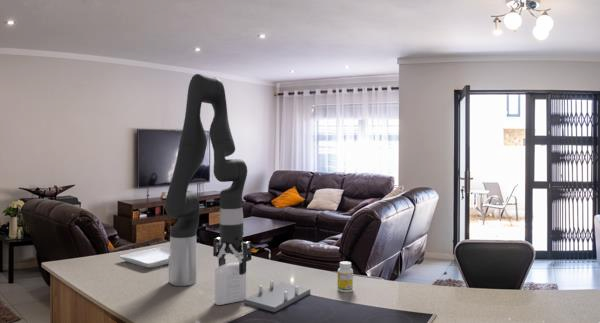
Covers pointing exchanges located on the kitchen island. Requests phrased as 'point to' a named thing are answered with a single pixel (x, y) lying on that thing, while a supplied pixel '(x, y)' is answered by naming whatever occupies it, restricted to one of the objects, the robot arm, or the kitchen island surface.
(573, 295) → the kitchen island surface
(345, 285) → the supplement bottle
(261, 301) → the pin tray
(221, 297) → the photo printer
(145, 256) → the salad plate
